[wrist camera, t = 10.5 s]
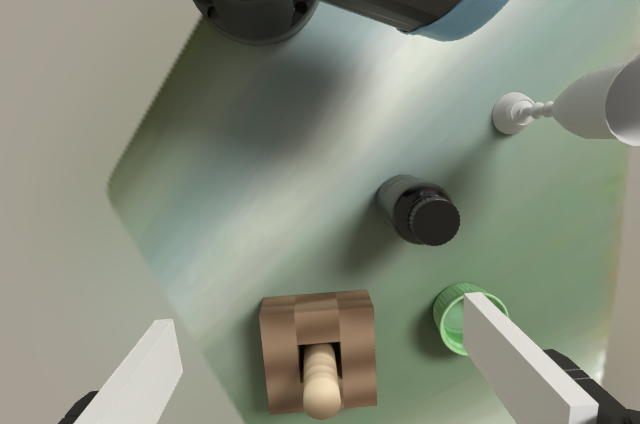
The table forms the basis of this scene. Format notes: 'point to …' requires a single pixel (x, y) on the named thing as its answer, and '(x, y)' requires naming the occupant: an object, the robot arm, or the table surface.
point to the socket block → (318, 327)
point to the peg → (320, 381)
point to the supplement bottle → (418, 210)
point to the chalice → (584, 106)
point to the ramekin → (457, 314)
